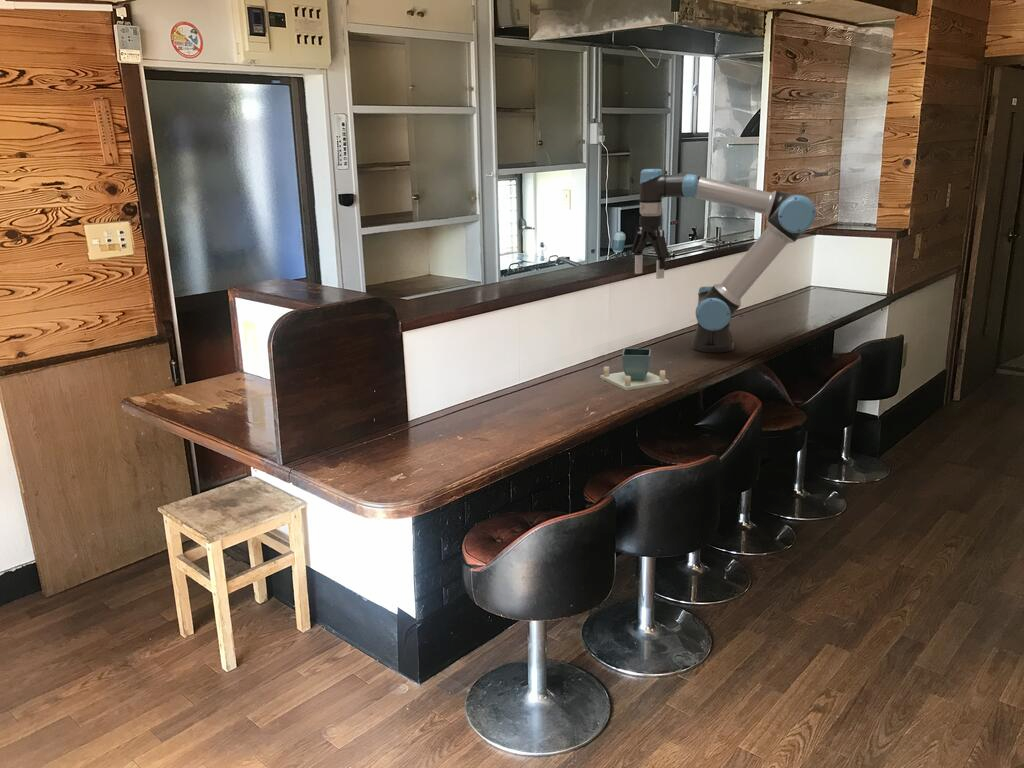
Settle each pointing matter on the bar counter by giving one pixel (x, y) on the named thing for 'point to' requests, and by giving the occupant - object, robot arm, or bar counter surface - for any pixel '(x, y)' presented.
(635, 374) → the flower pot
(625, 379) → the pot stand
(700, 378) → the bar counter surface
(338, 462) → the bar counter surface
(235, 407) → the bar counter surface
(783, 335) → the bar counter surface
